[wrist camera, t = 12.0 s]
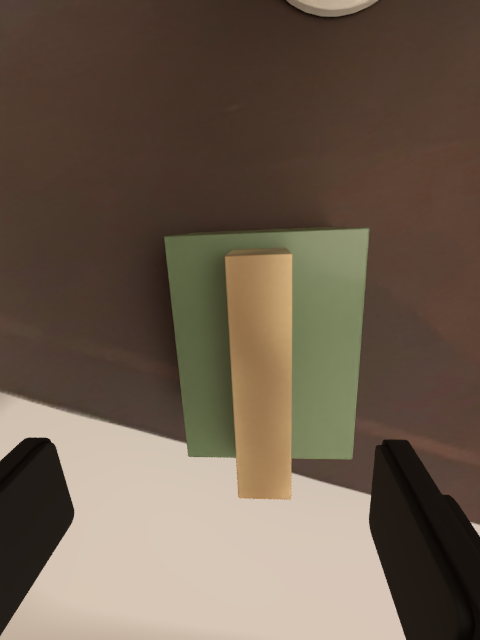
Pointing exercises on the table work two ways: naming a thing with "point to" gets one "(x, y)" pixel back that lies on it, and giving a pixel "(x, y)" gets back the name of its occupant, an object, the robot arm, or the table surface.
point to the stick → (261, 368)
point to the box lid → (307, 336)
